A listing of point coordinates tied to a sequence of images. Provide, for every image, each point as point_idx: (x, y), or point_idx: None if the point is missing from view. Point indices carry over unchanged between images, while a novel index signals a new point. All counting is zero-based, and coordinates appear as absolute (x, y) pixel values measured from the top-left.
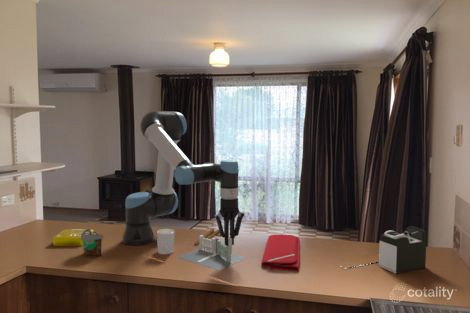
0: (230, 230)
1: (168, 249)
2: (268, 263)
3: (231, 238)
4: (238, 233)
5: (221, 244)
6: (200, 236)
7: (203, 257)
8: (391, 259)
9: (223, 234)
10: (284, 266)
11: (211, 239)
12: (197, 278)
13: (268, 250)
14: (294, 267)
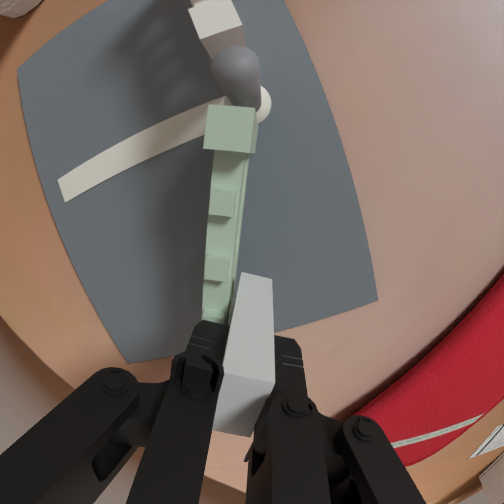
0: (259, 496)
1: (4, 9)
2: None
3: (244, 435)
4: (345, 483)
5: (216, 213)
6: None
7: (116, 128)
8: (492, 485)
9: (115, 454)
10: None
11: (191, 16)
12: (39, 341)
13: (491, 334)
14: None
